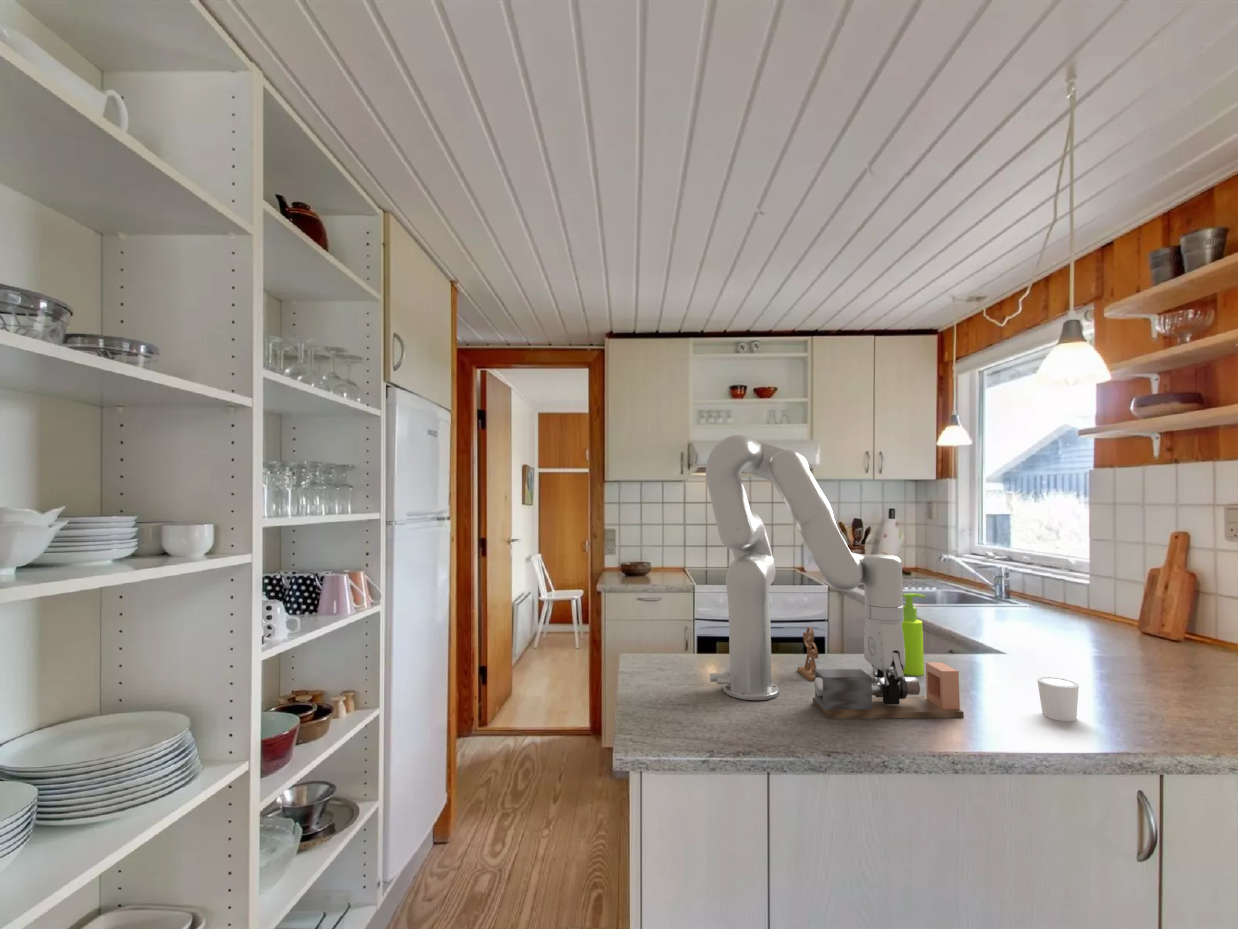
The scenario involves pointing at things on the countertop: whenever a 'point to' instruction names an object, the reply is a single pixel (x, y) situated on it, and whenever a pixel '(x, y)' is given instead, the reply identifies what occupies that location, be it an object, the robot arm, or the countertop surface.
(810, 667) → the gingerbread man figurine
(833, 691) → the stand
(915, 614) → the soap dispenser
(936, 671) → the socket block
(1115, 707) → the countertop surface
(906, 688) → the steel tube
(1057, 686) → the white cup
